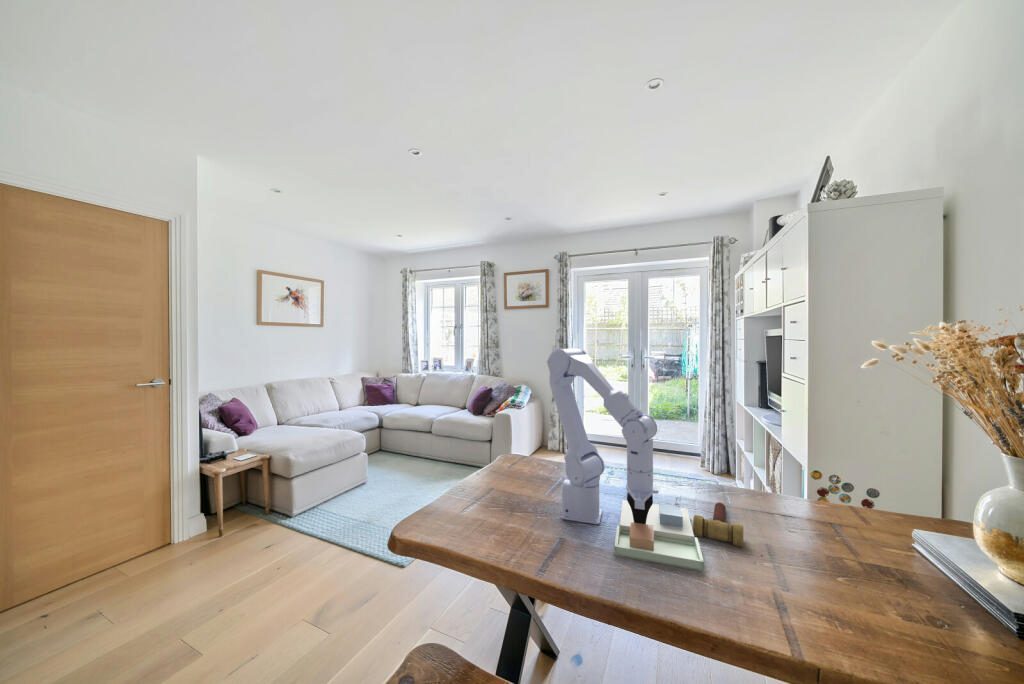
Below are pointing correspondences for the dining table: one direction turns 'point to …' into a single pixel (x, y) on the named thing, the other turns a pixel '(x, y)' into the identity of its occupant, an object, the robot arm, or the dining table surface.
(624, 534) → the tray
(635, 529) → the tile terracotta
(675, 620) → the dining table surface
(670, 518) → the tile slate
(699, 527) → the gavel
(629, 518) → the board
